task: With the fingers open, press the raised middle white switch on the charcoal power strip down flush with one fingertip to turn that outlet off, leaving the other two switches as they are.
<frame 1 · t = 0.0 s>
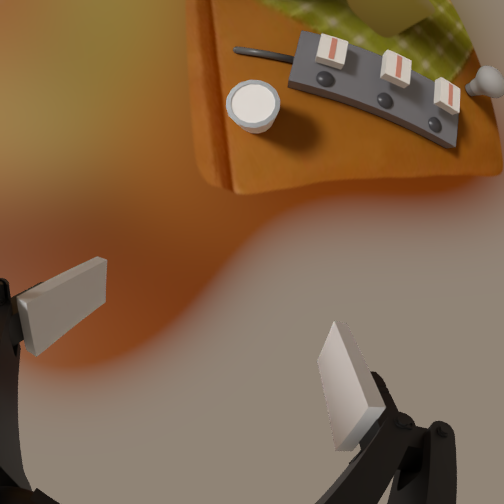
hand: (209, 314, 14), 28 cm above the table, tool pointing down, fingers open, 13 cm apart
power strip: (380, 89, 34), on the table
white cup: (256, 116, 37), on the table
cord end switch: (331, 51, 30), point 4 cm above the table, slide at 0.0 cm
lightbulb: (467, 91, 32), on the table
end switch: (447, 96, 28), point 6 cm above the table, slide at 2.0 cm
middle switch: (396, 68, 28), point 6 cm above the table, slide at 2.0 cm
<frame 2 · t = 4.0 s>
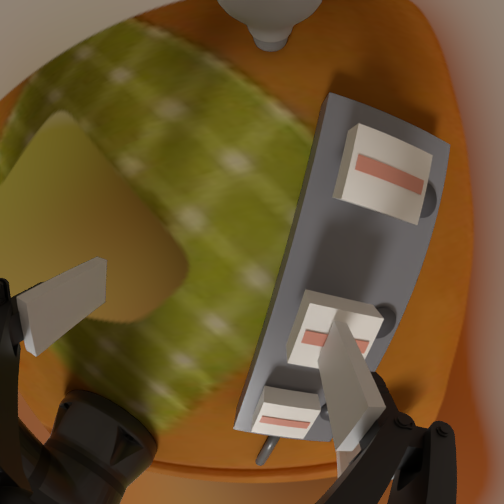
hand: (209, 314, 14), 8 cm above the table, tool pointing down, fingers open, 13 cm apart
power strip: (334, 298, 21), on the table
white cup: (357, 439, 26), on the table
cord end switch: (284, 414, 19), point 4 cm above the table, slide at 0.0 cm
lightbulb: (270, 45, 17), on the table
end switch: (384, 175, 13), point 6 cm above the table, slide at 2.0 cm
middle switch: (333, 334, 15), point 6 cm above the table, slide at 2.0 cm, touching gripper
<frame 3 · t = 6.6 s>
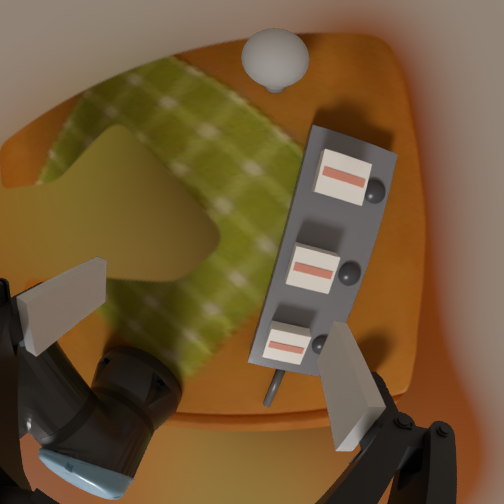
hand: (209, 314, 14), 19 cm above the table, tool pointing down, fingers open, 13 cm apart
power strip: (318, 259, 32), on the table
cord end switch: (286, 343, 30), point 4 cm above the table, slide at 0.0 cm
lightbulb: (275, 86, 28), on the table
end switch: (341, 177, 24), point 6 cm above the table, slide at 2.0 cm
middle switch: (311, 268, 28), point 5 cm above the table, slide at 0.2 cm
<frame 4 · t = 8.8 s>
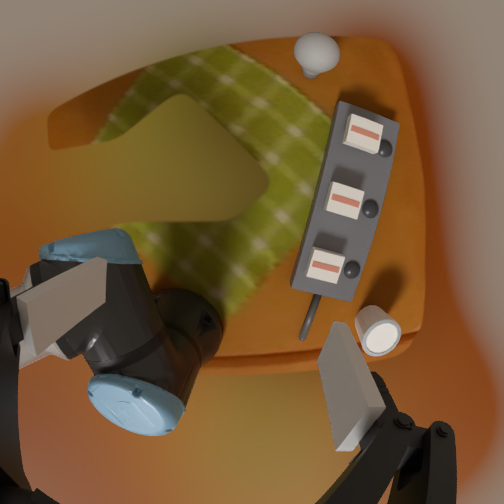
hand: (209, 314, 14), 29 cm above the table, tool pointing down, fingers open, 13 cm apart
power strip: (345, 201, 40), on the table
white cup: (368, 318, 44), on the table
cord end switch: (324, 265, 38), point 4 cm above the table, slide at 0.0 cm
lightbulb: (309, 74, 36), on the table
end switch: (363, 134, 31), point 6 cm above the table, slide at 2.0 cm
middle switch: (343, 200, 35), point 5 cm above the table, slide at 0.2 cm
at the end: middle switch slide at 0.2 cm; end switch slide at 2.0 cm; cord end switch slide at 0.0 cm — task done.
